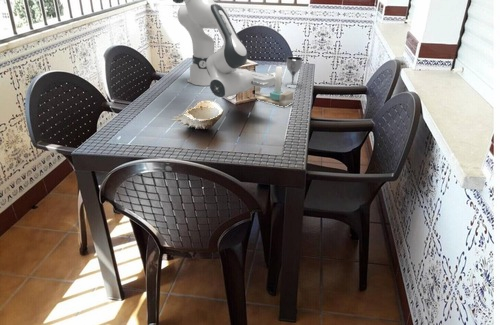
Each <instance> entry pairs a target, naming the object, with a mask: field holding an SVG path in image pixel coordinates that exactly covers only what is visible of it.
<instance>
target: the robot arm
mask: <svg viewBox="0 0 500 325" xmlns="http://www.w3.org/2000/svg"><path fill="white" fill-rule="evenodd" d="M172 1H173V3H174V4H182V3H183V5H181V6H180V7H179V8H178V11H177V16H176V17H177V20H178V22H179V24H180V25H181V26H183V27H184V28H185V30H187V32H188V34H189V36H190V39H191V44H192V58H191V59H192V64H191V65H190V66H189V78H187V79H186V82H187V83H191V84H192V85H195V86H203V87H204V86H205V87H206V86H209V89H210V91H211V93H212V94H213V95H214V96H216V97H218V98H229V97H232V96H236V95H237V94H241V93H245V92H247V91H248V90H250V89H251V88H252V87H253V86H257V87H260V88H261V89H262V88H269V87H270V88H271V87H275V76H274V74H271V73H270V74H265V73H262V72H257V71H256V70H254V69H252V70H248V69H247V68H240V67H243V66H244V65H245V64H246V63H247V61H248V50H247V48H246V46H245V44H244V43H243V41H242V40H241V39H240V37H239V35H238V33H237V32H236V29H235V28H234V25H233V24H232V22H231V20H230V18H229V17H230V16H229V12H228V10H227V9H226V8H225V7H224V6H221V5H220V4H218V3H217V2H216V1H214V0H172ZM204 29H213V30H214V29H215V30H216V29H217V30H218V32H219V34H220V36H221V38H222V40H223V44H222V46H221V47H220V48H219V49H217V50H216V51H215V41H214V39H213V38H212V37H211V36H210V35H209V34H207V33H206V32H205V31H204Z"/></svg>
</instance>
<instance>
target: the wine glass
mask: <svg viewBox="0 0 500 325" xmlns="http://www.w3.org/2000/svg"><path fill="white" fill-rule="evenodd" d="M302 62H303V58H302V57H300V56H293V55H291V56H286V68H287V70H288V72H289V73H290V76H291V83H290V84H291V85H295V84H294V80H295V76H296V75H297V73H298V72H299V71H300V69H301V67H302V64H303V63H302Z"/></svg>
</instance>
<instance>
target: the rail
mask: <svg viewBox="0 0 500 325" xmlns="http://www.w3.org/2000/svg"><path fill="white" fill-rule="evenodd" d="M283 92H284V93H281V94H280V97H279V100H275V99H271V98H270V94H267V93H262V92H261V87H257V86H255V98H257V100H260V101H259V102H261V101H264V102H268V103H272V104H275V105H279V106H283V107H285V106H287V105H289V104H290V103H292V102H293V103H294V94H295V93H294V91H291V90H287V91H283ZM257 100H256V101H257ZM264 102H263V103H264ZM268 103H267V104H268ZM275 105H274V106H275Z"/></svg>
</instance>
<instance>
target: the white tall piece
mask: <svg viewBox="0 0 500 325" xmlns="http://www.w3.org/2000/svg"><path fill="white" fill-rule="evenodd" d="M274 77H275V85H274V91H272V92H269V95H270V98H271V99H275V100H279V97H280V94H281V93H284V92H285V91H282V83H283V82H282V79H283V66H279V65H278V66H275V76H274Z"/></svg>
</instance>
